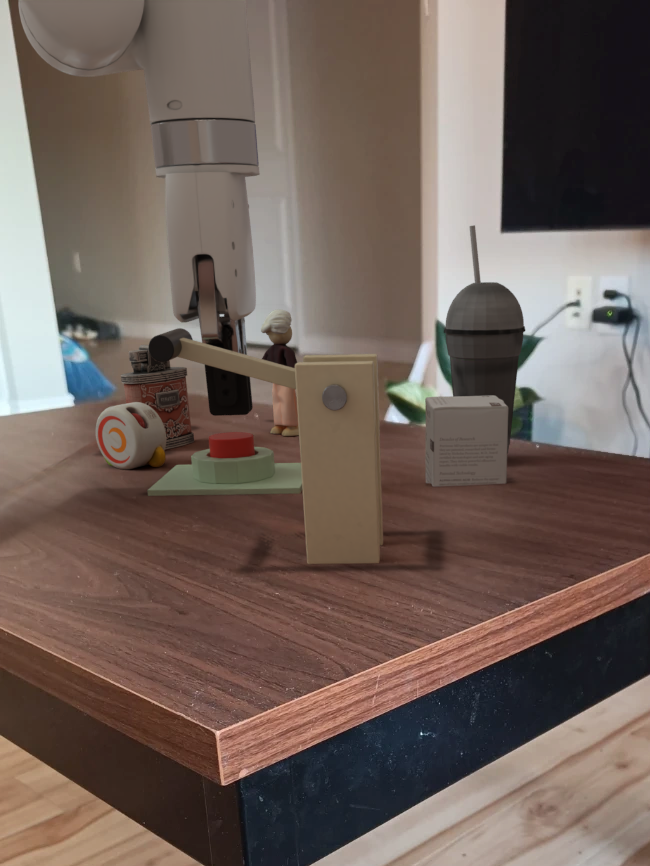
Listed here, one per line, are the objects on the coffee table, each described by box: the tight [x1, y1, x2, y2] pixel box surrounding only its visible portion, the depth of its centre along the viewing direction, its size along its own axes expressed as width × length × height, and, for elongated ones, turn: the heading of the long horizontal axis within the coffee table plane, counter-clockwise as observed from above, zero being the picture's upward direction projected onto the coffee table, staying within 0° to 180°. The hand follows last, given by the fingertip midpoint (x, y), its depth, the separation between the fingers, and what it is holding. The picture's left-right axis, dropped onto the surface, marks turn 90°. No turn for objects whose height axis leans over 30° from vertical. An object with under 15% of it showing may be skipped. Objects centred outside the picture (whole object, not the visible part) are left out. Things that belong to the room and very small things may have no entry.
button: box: [208, 431, 255, 458], centre depth 84 cm, size 4×4×2 cm
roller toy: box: [95, 402, 167, 471], centre depth 97 cm, size 4×6×6 cm
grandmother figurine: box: [260, 308, 299, 437], centre depth 111 cm, size 8×4×13 cm, turn 49°
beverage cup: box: [443, 224, 526, 455], centre depth 92 cm, size 7×7×20 cm
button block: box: [146, 446, 303, 497], centre depth 85 cm, size 12×10×4 cm
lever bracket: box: [295, 353, 384, 565], centre depth 62 cm, size 11×8×13 cm
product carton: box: [424, 395, 508, 487], centre depth 83 cm, size 6×6×7 cm
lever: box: [148, 327, 296, 390], centre depth 60 cm, size 12×5×2 cm, turn 88°
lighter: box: [120, 344, 195, 450], centre depth 105 cm, size 8×3×10 cm, turn 147°
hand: (231, 413), depth 83 cm, fingers closed
